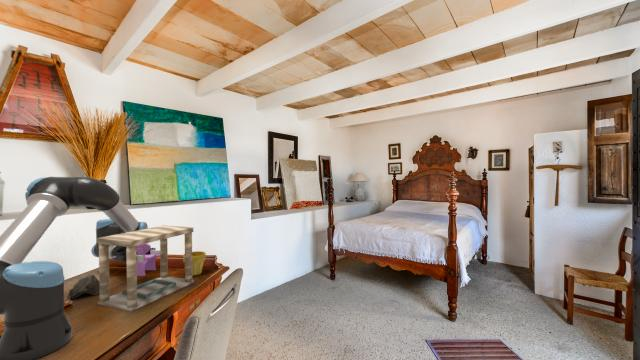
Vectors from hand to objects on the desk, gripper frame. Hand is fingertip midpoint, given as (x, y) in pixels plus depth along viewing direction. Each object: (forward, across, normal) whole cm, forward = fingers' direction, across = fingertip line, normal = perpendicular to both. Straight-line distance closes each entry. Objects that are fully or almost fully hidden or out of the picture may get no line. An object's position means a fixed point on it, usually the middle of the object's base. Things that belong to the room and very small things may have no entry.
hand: (152, 256), depth 128 cm
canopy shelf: (+11, +10, -11) cm, 19 cm away
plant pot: (+11, -14, -12) cm, 21 cm away
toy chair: (-5, 0, -8) cm, 9 cm away
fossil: (-12, +21, -12) cm, 27 cm away
